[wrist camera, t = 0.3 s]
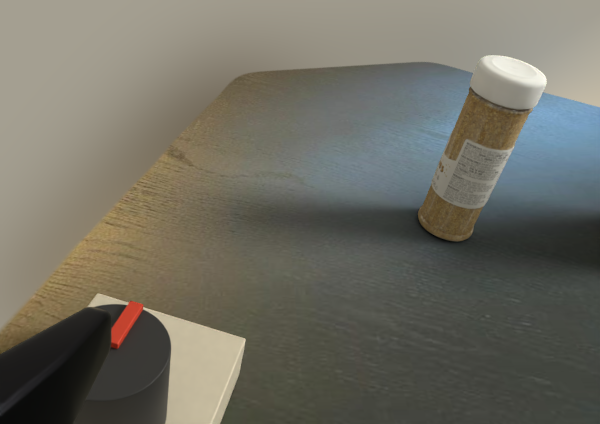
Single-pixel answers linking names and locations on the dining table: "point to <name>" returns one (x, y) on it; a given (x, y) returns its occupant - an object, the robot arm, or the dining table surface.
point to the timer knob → (131, 371)
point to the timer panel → (196, 368)
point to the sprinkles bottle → (480, 144)
